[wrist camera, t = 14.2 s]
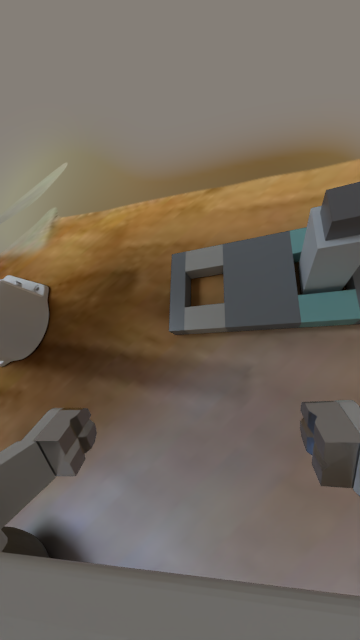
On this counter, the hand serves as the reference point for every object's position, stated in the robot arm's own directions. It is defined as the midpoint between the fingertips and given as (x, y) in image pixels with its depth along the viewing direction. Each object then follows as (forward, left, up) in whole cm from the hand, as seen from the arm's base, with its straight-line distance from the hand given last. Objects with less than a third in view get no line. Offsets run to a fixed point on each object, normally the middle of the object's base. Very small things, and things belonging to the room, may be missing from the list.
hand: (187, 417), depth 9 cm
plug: (+1, +17, -21) cm, 27 cm away
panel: (-5, +13, -21) cm, 26 cm away
